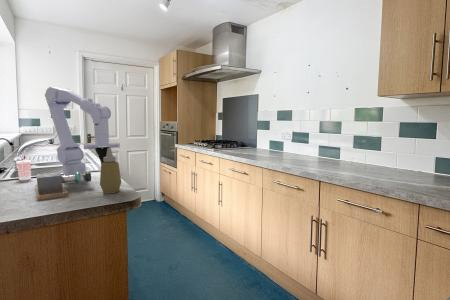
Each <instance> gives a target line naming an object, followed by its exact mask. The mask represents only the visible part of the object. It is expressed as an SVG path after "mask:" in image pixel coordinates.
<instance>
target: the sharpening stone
mask: <svg viewBox="0 0 450 300" xmlns="http://www.w3.org/2000/svg"><path fill="white" fill-rule="evenodd" d="M62 176H63V175H62V174H61V172H50V173H39V174H36V184H35V192H36V198H37V201H39V202H40V201H45V200H53V199H59V198H66V197H69V192H68V190H67V189H66V187H65V185H64V184H62Z"/></svg>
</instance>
